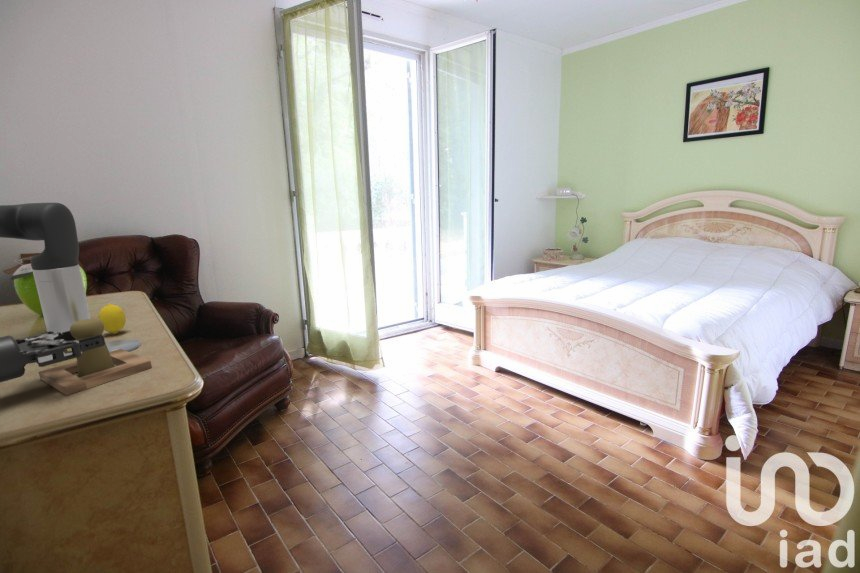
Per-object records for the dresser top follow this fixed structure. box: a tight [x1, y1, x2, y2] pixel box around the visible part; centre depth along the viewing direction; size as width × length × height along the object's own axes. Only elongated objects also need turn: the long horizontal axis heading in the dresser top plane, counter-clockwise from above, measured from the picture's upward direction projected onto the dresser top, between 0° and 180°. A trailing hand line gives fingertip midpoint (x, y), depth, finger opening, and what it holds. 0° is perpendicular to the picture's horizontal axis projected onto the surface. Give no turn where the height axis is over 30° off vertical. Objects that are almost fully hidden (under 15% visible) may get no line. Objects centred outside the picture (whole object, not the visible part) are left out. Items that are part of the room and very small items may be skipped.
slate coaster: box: [105, 338, 142, 352], centre depth 100 cm, size 10×10×1 cm
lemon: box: [98, 303, 127, 335], centre depth 110 cm, size 6×6×8 cm
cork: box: [70, 318, 116, 378], centre depth 85 cm, size 6×6×11 cm
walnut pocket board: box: [38, 349, 153, 396], centre depth 86 cm, size 14×14×2 cm
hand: (94, 335), depth 86 cm, fingers open, 8 cm apart
